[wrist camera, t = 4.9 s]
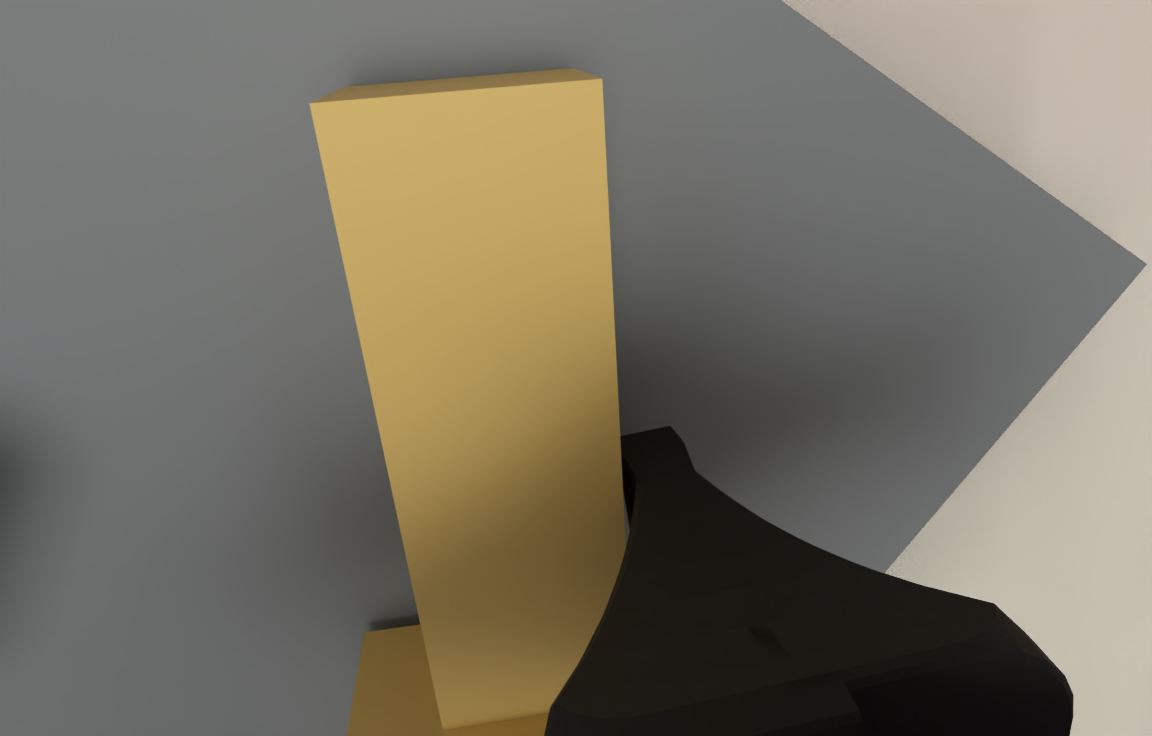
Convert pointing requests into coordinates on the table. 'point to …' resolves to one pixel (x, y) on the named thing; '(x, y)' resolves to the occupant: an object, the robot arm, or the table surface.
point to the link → (483, 384)
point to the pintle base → (332, 346)
